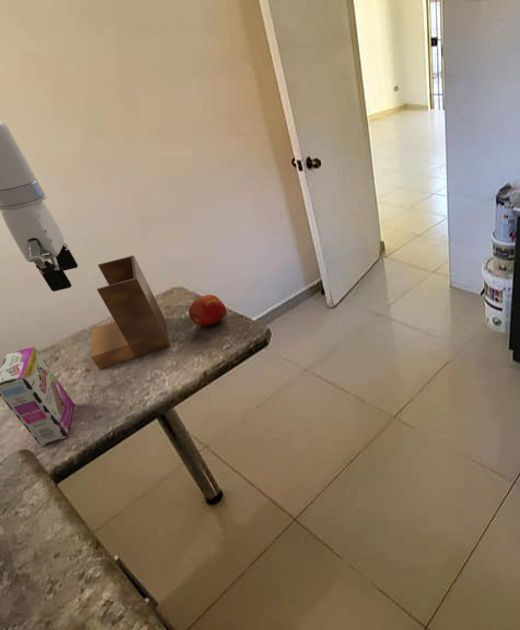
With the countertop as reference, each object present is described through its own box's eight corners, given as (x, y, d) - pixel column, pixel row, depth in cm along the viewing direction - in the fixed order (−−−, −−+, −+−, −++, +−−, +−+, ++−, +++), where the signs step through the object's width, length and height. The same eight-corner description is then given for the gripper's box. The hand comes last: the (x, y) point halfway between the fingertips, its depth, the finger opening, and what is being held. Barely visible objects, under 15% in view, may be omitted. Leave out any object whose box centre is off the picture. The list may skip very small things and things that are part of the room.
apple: (233, 320, 119) (224, 296, 114) (204, 335, 114) (193, 310, 110) (219, 311, 124) (209, 287, 119) (190, 325, 119) (179, 300, 114)
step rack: (99, 370, 105) (54, 301, 94) (100, 339, 116) (59, 274, 104) (170, 346, 111) (136, 278, 100) (164, 318, 122) (133, 255, 111)
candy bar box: (70, 437, 88) (23, 377, 78) (41, 447, 86) (-11, 387, 77) (76, 402, 96) (34, 344, 87) (50, 411, 94) (4, 353, 85)
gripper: (3, 186, 82) (51, 266, 92) (-24, 213, 70) (35, 303, 79) (50, 179, 85) (92, 257, 95) (32, 203, 72) (82, 291, 82)
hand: (66, 278), depth 87 cm, fingers open, 9 cm apart
